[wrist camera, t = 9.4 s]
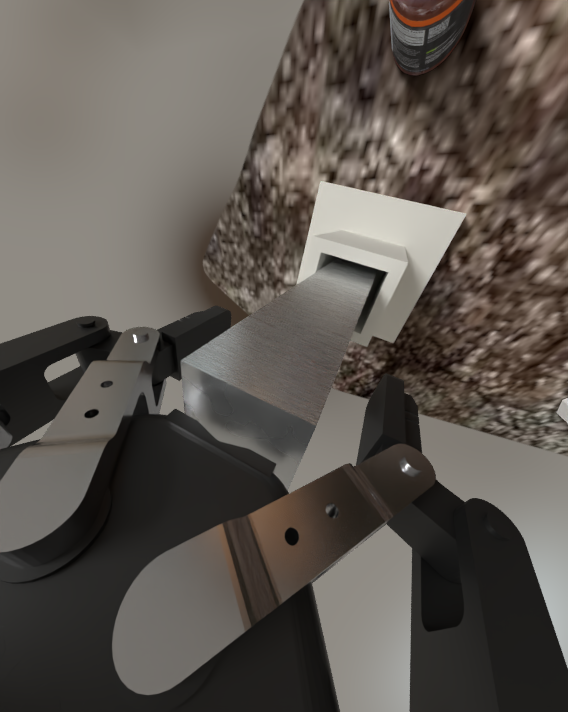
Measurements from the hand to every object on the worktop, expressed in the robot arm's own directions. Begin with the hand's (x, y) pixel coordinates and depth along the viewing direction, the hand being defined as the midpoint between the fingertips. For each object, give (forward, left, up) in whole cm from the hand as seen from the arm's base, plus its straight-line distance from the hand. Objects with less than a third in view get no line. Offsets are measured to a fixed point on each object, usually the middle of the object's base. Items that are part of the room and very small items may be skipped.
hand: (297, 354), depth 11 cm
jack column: (0, 0, -17) cm, 17 cm away
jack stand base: (0, 0, -25) cm, 25 cm away
